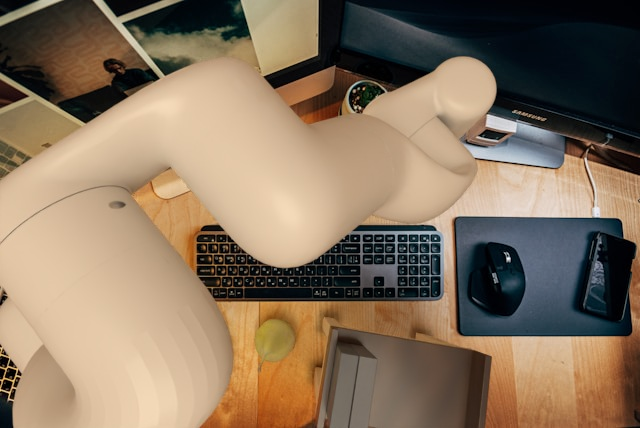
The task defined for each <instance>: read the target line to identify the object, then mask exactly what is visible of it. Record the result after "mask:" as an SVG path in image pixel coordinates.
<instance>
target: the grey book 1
mask: <svg viewBox="0 0 640 428" xmlns="http://www.w3.org/2000/svg"><path fill="white" fill-rule="evenodd" d="M358 360H359V355H358V354H357V353H356V352H355V351H354V349H353V348H352V347H351V346H350V344H347V343H342V342H337V346H336V353H335V359H334V365H333V372H332V378H331V384H330V391H329V397H328V403H327V410H326V414H327V424H328V428H348V427H349V420H350V414H351V407H352V400H353V393H354V387H355V380H356V373H357V366H358Z"/></svg>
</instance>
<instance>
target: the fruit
mask: <svg viewBox="0 0 640 428" xmlns="http://www.w3.org/2000/svg"><path fill="white" fill-rule="evenodd" d="M296 339H297V336H296V332H295V330H294V328H293V326H292V325H290V323H288V322H286V321H284V320H281V319H278V318H270V319H267V320H266V321H264V322H263V323H262V324H261V325H260V326H259V327H258V329H257V331H256V333H255V335H254V339H253V341H254V342H253V343H254V347H255V351H256V353H257V354H258V356H259V358H260V359H261V360H260V362H259V363H258V367H257V373H258V374H260V373H261V372H262V366H263V364H264V362H268V363H279V362H282V361H283V360H285V359H286V358H287V357H288V356H289V355H290V354H291V352H292V351H293V350H294V348H295V345H296V342H297V341H296Z"/></svg>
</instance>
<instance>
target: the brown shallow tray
mask: <svg viewBox="0 0 640 428" xmlns="http://www.w3.org/2000/svg"><path fill="white" fill-rule="evenodd" d="M348 328H349V327H348ZM348 328H342V327H336V326H330V329H329V335H328V341H327V340H326V341H327V348H326V354H325V360H324V366H323V372H322V378H321V385H320V391H319V397H318V403H317V409H316V408H315V409H316V415H315V425H316V426H315V427H316V428H325V423H326V420H327V414H326V410H327V403H328V397H329V391H330V384H331V378H332V372H333V365H334V359H335V353H336V346H337V342H342V343H347V344H353V345H359V346H364V347H366V348H367V349H368V350H369V351H370V352H371V353H372V354H373V355H374V356H375V357H376V358H377V359H378V361H377V368H376V375H375V382H374V390H373V397H372V404H371V411H370V418H369V425H368V428H486V422H487V413H488V412H487V411H488V401H489V391H490V381H491V371H492V362H493V361H492V360H493V356H492V355H490V354H486V353H484V352H481V351H479V350H476V351H475V349H473V350H469V349H463V348H458V347H452V346H446V345H440V344H435V343H429V342H423V341H417V340H411V339H406V338H407V337H406V338H400V337H401V336H400V337H394V336H388V335H383V334H384V333H383V334H377V333H378V332H377V333H371V332H372V331H371V332H365V331H359V330H354V329H355V328H354V329H348ZM327 421H328V420H327Z"/></svg>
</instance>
